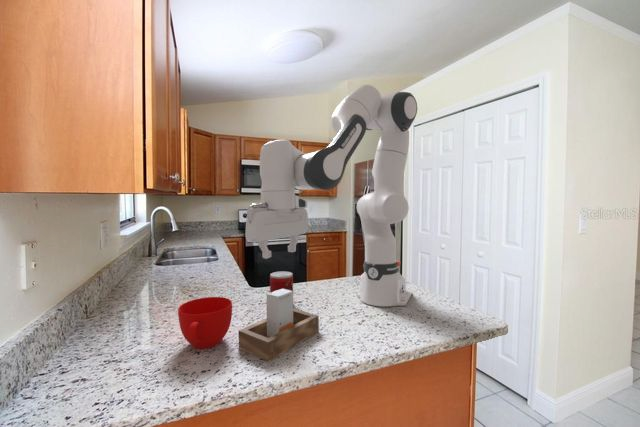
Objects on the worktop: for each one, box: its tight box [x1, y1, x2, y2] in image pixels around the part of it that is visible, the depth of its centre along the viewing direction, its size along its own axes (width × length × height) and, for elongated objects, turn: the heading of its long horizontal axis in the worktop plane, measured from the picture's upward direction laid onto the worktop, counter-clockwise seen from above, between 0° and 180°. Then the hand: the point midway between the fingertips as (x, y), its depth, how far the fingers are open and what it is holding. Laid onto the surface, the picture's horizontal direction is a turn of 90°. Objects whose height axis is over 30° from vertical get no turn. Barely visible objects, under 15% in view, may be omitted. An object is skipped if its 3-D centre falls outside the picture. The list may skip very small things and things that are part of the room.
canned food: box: [269, 270, 294, 293], centre depth 104 cm, size 8×8×11 cm
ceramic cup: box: [177, 296, 233, 350], centre depth 75 cm, size 13×17×10 cm
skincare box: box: [266, 289, 294, 338], centre depth 79 cm, size 6×4×12 cm
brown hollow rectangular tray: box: [237, 308, 320, 363], centre depth 79 cm, size 19×10×4 cm, turn 143°
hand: (280, 254), depth 79 cm, fingers open, 8 cm apart
